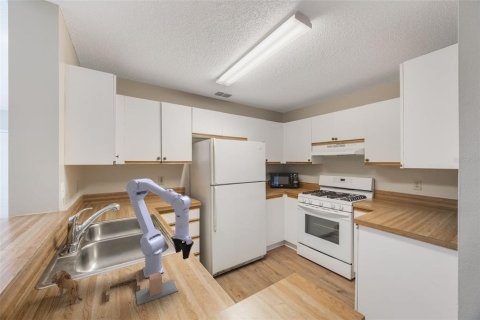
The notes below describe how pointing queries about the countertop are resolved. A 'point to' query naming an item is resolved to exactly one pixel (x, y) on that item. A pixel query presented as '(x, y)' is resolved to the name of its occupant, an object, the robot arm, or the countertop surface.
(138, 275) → the walnut cradle
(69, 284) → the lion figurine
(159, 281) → the terracotta block
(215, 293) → the countertop surface
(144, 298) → the slate mat
